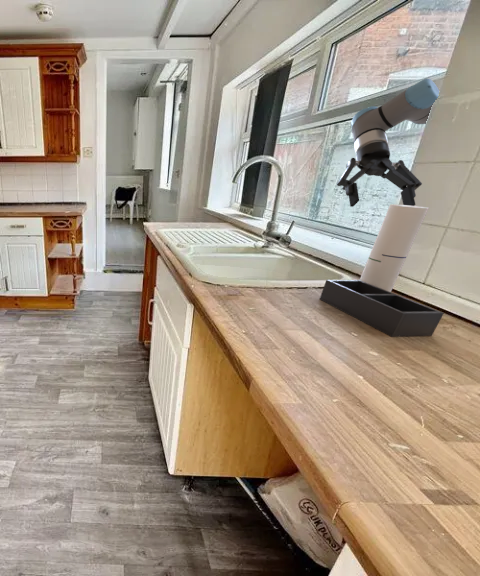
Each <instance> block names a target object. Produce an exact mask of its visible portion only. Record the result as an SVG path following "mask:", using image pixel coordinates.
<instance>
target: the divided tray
mask: <svg viewBox="0 0 480 576" xmlns="http://www.w3.org/2000/svg"><path fill="white" fill-rule="evenodd" d="M319 300H320V301H322V302H324V303H326V304H328V305H330V306H332V307H334V308H335V309H337V310H339V311H341V312H343V313H345V314H347V315H349V316H351V317H353V318H355V319H357V320H359V321H360V322H362V323H365V324H366V325H368V326H370V327H372V328H374V329H375V330H377V331H380V332H382V333H383V334H386V335H387V336H389V337H391V338H395V337H396V338H399V337H400V338H402V337H432V336H433V334H434V332H435V331H436V329H437V327H438V325H439V323H440V322H441V319H442V317H443V316H444V314H445V313H444V312H442V311H440V310H437V309H435V308H432V307H431V306H428V305H424V304H422V303H420V302H417V301H414V300H412V299H409V298H407V297H404V296H402V295H399V294H396V293H394V292H392V291H391V292H389V291H386V290H384V289H381V288H379V287H376V286H374V285H371V284H369V283H366V282H363V281H361V280H360V279H326V280H325V283H324V285H323V288H322V291H321V294H320V296H319Z"/></svg>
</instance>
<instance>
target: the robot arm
mask: <svg viewBox="0 0 480 576" xmlns="http://www.w3.org/2000/svg"><path fill="white" fill-rule="evenodd" d="M439 91H440V90H439V87H438V86H437V85H436V83H435V82H434V81H433V80H432V79H431V78H423V79H422V80H420V81H418V82H417V83H415V84H413V85H410V86H408V88H406V89H405V90H404V91H402V92H400V93H399V94H397V95H395V96H394V97H392V98H391V99H390V100H388V101H386V102H384V103H383V104H381V105H380V106H373V105H372V106H368V107H366V108H362V109H360V110H359V111H357V112H356V113H355V114H354V116H353V117H352V119H351V128H350V129H351V134H352V138H353V145H354V152H355V157H351V158H350V159H349V161H348V162H347V163H346V165H345V170H344V171H343V173H342V175H341V177H340V178H339V180H338V181H337V183H336V186H337V187H341V186H342V187H341V189H342V190H343V191H345V196H348V200H349V207H352V208H354V206H356V205H357V204H358V202H359V201H360V195H359V189H358V184H357V180H359V179H360V178H362V177H363V176H364V175H367V176H374V177H375V176H376V177H381V178H382V179H386V180H388V181H389V182H390V183H392V184H393V185H394V186H396V187H397V188H399V189H400V190H402V191H400V196H401V201H402V205H410V206H417V205H416V201H415V198H416V191H417V189H419V187H421V186H422V185H423V183H422V182H421V180H419V178H417V176H415V174H414V173H413V172H412V171H411V170H410V169H409V168H408V167H407V165H405V163H404V160H402V159H399V160H398V161H397V162H393V161H392V160H390V158H391V151H390V146H389V140H388V136H387V132H386V131H388V130H390V129H392V128H394V127H396V126H398V125H399V124H401V123H403V122H404V121H408V122H411V123H413V124H415V125H427V124H426V121H427V119H428V116H429V113H430V110H431V107H432V105H433V103H434V102H435V100H436V99H437V98H438V96H439V95H438V94H439ZM356 167H357V169H359V171H358V172H357V173H355V174H354V175H353V176H352V177H351V178H349V176H350V174H351V172H352V171H353V169H354V168H356ZM348 178H349V179H348Z"/></svg>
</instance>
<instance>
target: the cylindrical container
mask: <svg viewBox="0 0 480 576" xmlns="http://www.w3.org/2000/svg"><path fill="white" fill-rule="evenodd" d="M429 208H430V207H426V206H420V205H414V206H410V205H403V204H397V203H396V204H395V203H391V204H389V206H388V209H387V210H386V214H385V216H384V218H383V221H382V223H381V226H380V229H379V231H378V233H377V235H376V238H375V240H374V243H373V245H372V248H371V251H370V252H369V255H368V257H367V260H366V263H365V265H364V268H363V271H362V272H361V275H360V278H359V280H361V281H363V282H366V283H369V284H371V285H374V286H376V287H379V288H381V289H384V290H386V291H389V292H392V291H393V289H394V286H395V285H396V282H397V279H398V277H399V275H400V272H401V271H402V268H403V266H404V264H405V262H406V260H407V257H408V255H409V253H410V251H411V250H412V249H411V248H412V246H413V244H414V242H415V240H416V237H417V236H418V233H419V231H420V229H421V227H422V224H423V222H424V220H425V217H426V216H427V213H428V211H429Z"/></svg>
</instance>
